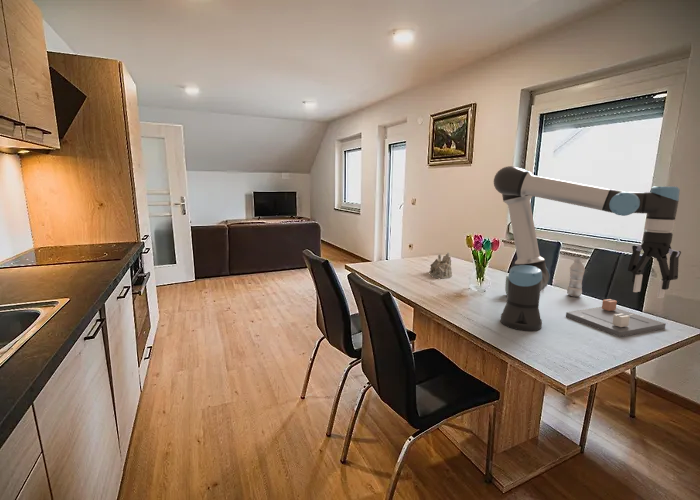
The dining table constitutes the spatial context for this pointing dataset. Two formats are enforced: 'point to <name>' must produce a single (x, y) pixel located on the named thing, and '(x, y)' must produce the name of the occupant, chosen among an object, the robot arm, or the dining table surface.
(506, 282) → the cup
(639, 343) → the dining table surface
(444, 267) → the ceramic cottage
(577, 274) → the plastic bottle
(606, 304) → the terracotta fader
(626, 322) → the white fader
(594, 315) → the fader panel
